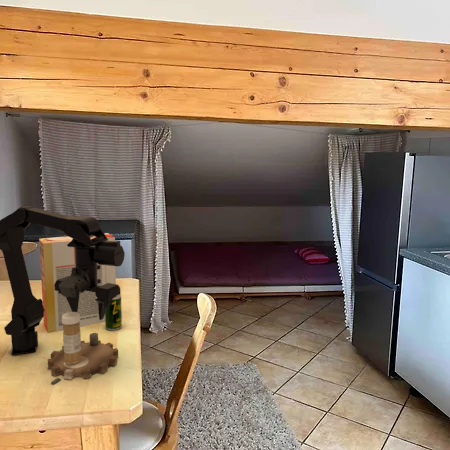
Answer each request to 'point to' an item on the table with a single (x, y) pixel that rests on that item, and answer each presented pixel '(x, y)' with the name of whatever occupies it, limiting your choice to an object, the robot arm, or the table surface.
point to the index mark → (55, 381)
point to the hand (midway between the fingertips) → (88, 316)
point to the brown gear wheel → (85, 359)
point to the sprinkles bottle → (71, 337)
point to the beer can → (114, 314)
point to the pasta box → (61, 267)
